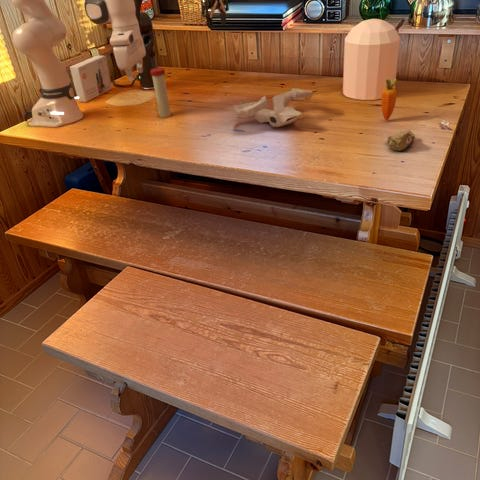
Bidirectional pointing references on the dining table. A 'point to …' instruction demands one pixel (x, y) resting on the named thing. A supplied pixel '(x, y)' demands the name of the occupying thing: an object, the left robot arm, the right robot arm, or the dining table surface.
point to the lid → (157, 71)
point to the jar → (161, 96)
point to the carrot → (388, 99)
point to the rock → (400, 140)
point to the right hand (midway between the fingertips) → (217, 25)
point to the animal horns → (280, 112)
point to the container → (370, 59)
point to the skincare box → (91, 78)
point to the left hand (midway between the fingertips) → (136, 76)
